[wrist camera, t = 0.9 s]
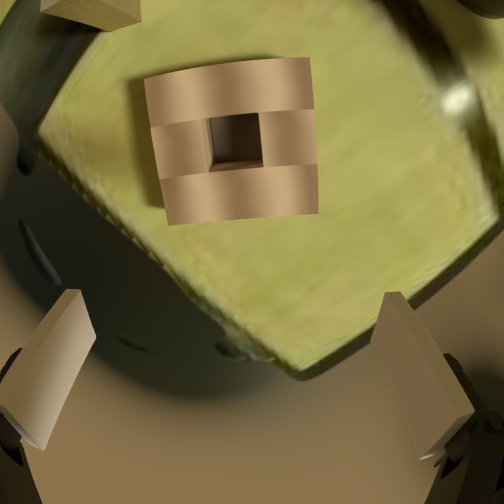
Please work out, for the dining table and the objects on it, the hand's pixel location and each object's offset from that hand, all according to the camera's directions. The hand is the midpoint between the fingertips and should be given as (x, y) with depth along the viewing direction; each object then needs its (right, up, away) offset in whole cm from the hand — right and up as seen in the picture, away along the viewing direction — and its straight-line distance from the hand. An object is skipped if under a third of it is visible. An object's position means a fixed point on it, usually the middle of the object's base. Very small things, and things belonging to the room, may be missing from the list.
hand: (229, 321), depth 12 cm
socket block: (-1, +14, +16) cm, 21 cm away
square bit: (-12, +27, +9) cm, 31 cm away
